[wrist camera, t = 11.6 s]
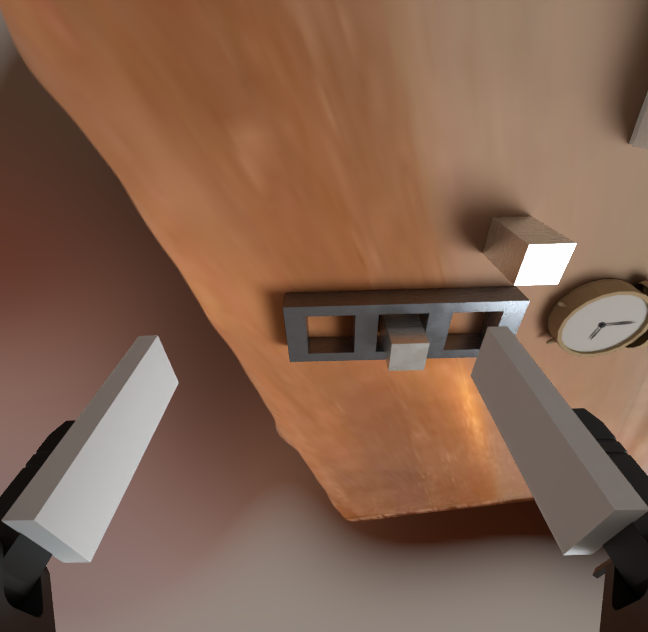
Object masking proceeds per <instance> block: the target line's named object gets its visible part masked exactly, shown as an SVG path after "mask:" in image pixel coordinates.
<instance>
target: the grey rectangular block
mask: <svg viewBox="0 0 648 632" xmlns="http://www.w3.org/2000/svg"><path fill="white" fill-rule="evenodd" d="M379 332H380V336H381V341H382V345H383V349H384V354H385V358H386V362H387V366H388V371H397V370H424V367H425V362H426V358H427V353H428V349H429V344H430V343H429V340H428V338H427V336H426V333H425V331H424V328H423V326H422V324H421V321H420V319H419V316H418V314H381V320H380V330H379Z"/></svg>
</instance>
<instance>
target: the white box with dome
mask: <svg viewBox="0 0 648 632" xmlns="http://www.w3.org/2000/svg"><path fill="white" fill-rule="evenodd" d="M629 144H633V145H632V146H634V147H639V148H645V149H648V92H647V94H646V97H645V100H644V103H643V105H642V108H641V111H640V114H639V117H638V119H637V122H636V125H635V128H634V130H633V133H632V136H631V139H630V141H629Z"/></svg>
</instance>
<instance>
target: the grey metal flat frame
mask: <svg viewBox="0 0 648 632" xmlns="http://www.w3.org/2000/svg"><path fill="white" fill-rule="evenodd" d="M529 302H530V300H529V299H528V298H527V297H526V296H525V295H524V294H523V293H522V292H521V291H520V290H519V289H518V288H517V287H516V286H515V287H479V288H444V289H409V290H374V291H339V292H304V293H285V298H284V304H283V313H284V321H285V328H286V336H287V343H288V351H289V359H290V362H304V361H344V360H384V359H386V358H385V354H384V349H383V345H382V341H381V336H377V330H378V319H379V315H381V314H417V313H420V315H419V319H420V321H421V324H422V326H423V328H424V331H425V333H426V336H427V338H428V340H429V343H430V344H429V349H428V353H427V358H464V357H477V356H478V353H479V350H480V348H481V345H482V342H483V339H484V336H485V333H486V330H487V327H501V326H507V327H508V328H509V329H510V330H511V332H512V333H513V334H514V336H515V335H516V332H517V330H518V328H519V325H520V323H521V321H522V318H523V316H524V313H525V311H526V309H527V306H528V304H529ZM454 312H487V313H486V316H485V319H484V322H483V325H482V328H481V331H480V333H473V334H448V330H449V326H450V322H451V318H452V314H453V313H454ZM344 315H353V332H352V337H321V338H309V329H308V316H344Z"/></svg>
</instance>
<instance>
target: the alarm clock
mask: <svg viewBox="0 0 648 632" xmlns="http://www.w3.org/2000/svg"><path fill="white" fill-rule="evenodd" d="M636 284H643V286H644V288H643V290H642V292H640V291H639V290H637V289H636V288H635V287H634V286H632V285H631V284H630V283H628V282H625V281H622V280H619V279H602V280H598V281H594V282H589V283H586V284H584V285H582V286H580V287H578V288H576V289H574V290H572V291H571V292H570V293H568V294H567V295H566V296H564V297H563V298H562V299H561V300H560V301H559V302H557V304H556V306H555V307H554V308H553V309H552V311H551V313H550V316H549V318H548V327H547V328H548V330H549V332H550V334H551V336H553V339H550V340H548V341H547V342H546V343H547V344H551V343H554V342H557V343H558V344H559V346H560V347H561V348H562V349H563V350H565V351H566V352H567V353H569V354H572V355H576V356H585V357H593V356H599V355H604V354H608V353H611V352H614V351H617V350H619V349H622V348H623V347H627V348H640V347H644V346H646V345H648V281H642V282H639V283H636Z"/></svg>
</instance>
